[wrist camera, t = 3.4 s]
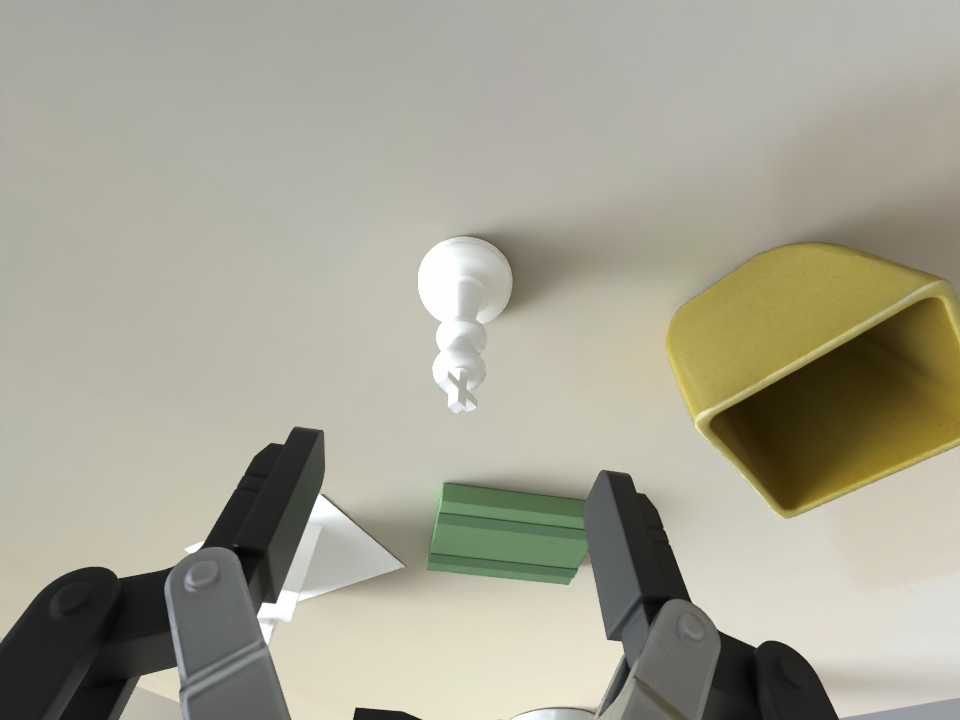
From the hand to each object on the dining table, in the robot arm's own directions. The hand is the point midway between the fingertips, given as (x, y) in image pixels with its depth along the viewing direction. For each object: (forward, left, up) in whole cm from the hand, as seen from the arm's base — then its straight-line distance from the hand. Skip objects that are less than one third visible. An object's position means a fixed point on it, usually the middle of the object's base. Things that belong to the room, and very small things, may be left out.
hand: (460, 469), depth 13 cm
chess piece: (0, 0, -13) cm, 13 cm away
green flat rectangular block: (+7, -21, -13) cm, 25 cm away
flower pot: (+15, +1, -13) cm, 20 cm away
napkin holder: (-10, -28, -13) cm, 33 cm away
